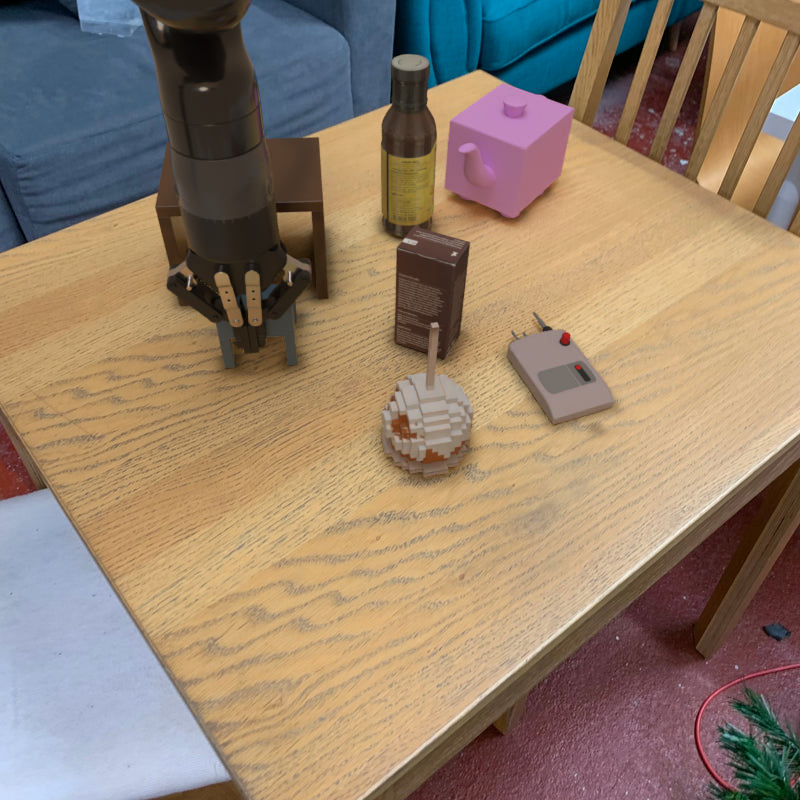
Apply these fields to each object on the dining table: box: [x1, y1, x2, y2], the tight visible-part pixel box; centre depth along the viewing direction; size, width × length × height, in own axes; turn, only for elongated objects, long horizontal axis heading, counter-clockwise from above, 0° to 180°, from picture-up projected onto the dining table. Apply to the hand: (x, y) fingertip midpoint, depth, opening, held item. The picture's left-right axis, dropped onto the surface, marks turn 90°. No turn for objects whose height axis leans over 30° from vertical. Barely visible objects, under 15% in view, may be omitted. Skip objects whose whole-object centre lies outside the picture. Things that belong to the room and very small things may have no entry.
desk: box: [154, 136, 329, 307], centre depth 82 cm, size 16×12×12 cm
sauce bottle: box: [380, 53, 438, 239], centre depth 86 cm, size 6×6×20 cm
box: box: [393, 226, 471, 360], centre depth 75 cm, size 6×4×12 cm
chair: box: [215, 283, 298, 369], centre depth 76 cm, size 7×7×8 cm
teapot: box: [443, 82, 576, 219], centre depth 93 cm, size 20×10×12 cm, turn 144°
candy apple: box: [380, 322, 475, 478], centre depth 65 cm, size 8×8×15 cm
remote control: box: [506, 311, 618, 425], centre depth 76 cm, size 7×16×3 cm, turn 22°
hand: (252, 347), depth 73 cm, fingers closed
